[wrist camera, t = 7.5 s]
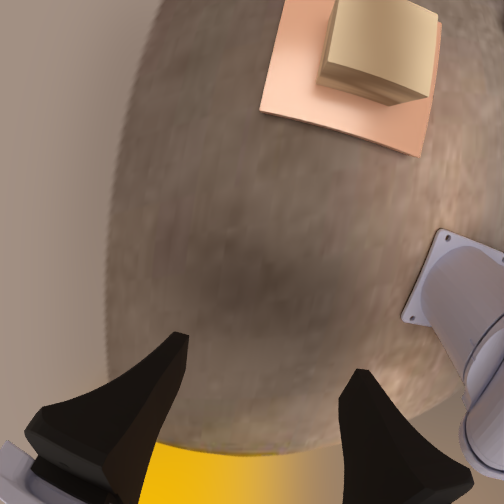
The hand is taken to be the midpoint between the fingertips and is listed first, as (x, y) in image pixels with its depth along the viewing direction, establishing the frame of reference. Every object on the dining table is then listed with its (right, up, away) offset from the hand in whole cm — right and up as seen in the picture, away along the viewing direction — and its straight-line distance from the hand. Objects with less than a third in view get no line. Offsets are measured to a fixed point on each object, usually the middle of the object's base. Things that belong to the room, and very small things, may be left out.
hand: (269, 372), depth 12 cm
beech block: (+5, +16, +2) cm, 17 cm away
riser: (+6, +17, +4) cm, 18 cm away
